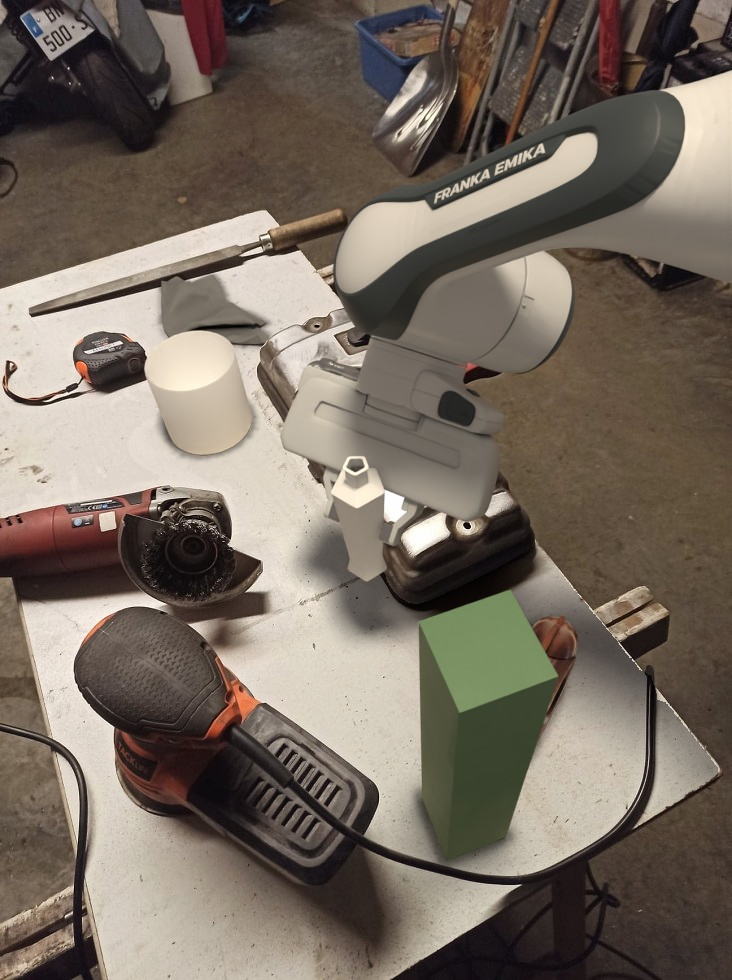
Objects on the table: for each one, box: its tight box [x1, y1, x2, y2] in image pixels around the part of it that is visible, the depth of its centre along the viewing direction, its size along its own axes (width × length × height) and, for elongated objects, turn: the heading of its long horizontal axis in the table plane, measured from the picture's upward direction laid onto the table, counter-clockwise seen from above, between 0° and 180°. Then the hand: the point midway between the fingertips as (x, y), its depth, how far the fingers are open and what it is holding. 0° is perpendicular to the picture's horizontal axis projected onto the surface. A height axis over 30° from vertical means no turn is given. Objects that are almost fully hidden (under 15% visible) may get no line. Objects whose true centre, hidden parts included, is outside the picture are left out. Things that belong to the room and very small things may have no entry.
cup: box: [143, 331, 253, 456], centre depth 99 cm, size 12×12×12 cm
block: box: [418, 589, 558, 862], centre depth 56 cm, size 6×6×35 cm
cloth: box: [160, 274, 270, 345], centre depth 118 cm, size 26×14×2 cm, turn 36°
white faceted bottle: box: [331, 456, 388, 582], centre depth 67 cm, size 5×4×15 cm
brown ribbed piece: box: [532, 614, 579, 740], centre depth 70 cm, size 11×5×15 cm, turn 147°
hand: (360, 531), depth 68 cm, fingers closed on white faceted bottle, 4 cm apart
